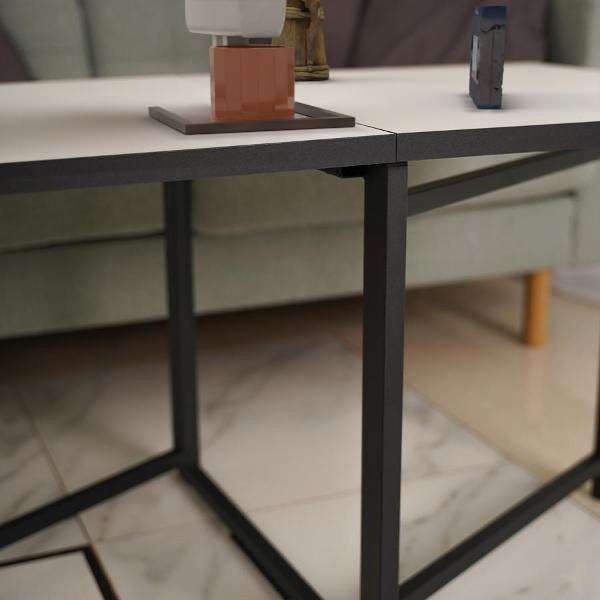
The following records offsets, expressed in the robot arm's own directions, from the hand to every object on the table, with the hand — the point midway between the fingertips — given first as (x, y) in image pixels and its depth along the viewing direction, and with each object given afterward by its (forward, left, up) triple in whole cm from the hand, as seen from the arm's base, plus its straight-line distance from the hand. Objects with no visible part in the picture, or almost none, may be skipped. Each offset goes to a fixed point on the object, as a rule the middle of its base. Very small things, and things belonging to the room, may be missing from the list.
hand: (231, 85), depth 86 cm
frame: (0, -5, -3) cm, 6 cm away
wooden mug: (+22, +38, -3) cm, 44 cm away
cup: (0, -6, -3) cm, 7 cm away
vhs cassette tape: (+30, +4, -3) cm, 31 cm away
